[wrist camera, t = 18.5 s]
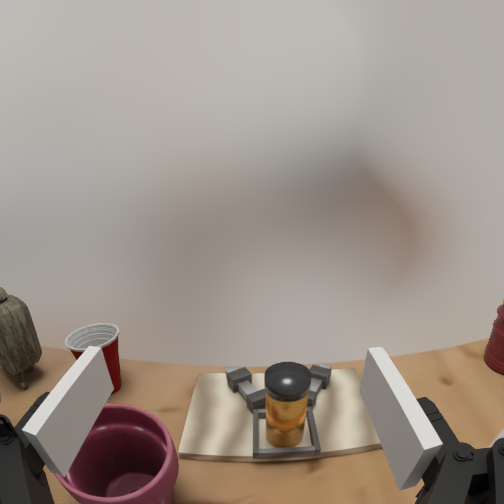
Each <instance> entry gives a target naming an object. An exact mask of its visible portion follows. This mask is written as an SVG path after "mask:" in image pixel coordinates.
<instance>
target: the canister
mask: <svg viewBox="0 0 504 504" xmlns="http://www.w3.org/2000/svg"><path fill="white" fill-rule="evenodd" d="M497 313H498V316H497V319H496V320H495V321H494V323H493V329H492V332H491V335H490V339H489V342H488V344H487V345H486V349H485V354H484V359H485V361H486V363H487V364H488V366H489V367H490V368H492V369H493V370H495V371H496V372H498V373H501V374H504V299H503V305H500V306H499V307H498V309H497Z"/></svg>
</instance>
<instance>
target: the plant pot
mask: <svg viewBox="0 0 504 504" xmlns="http://www.w3.org/2000/svg"><path fill="white" fill-rule="evenodd" d="M178 469H179V464H178V457H177V453H176V450H175V447H174V444H173V441H172V438H171V436H170V433H169V431H168V430H167V428H166V427H165V425H164V424H163V423H162V422H161V421H160V420H159V419H158V418H157V417H156V416H154V415H153V414H151V413H149V412H148V411H146V410H143V409H141V408H138V407H135V406H131V405H125V404H105V405H104V407H103V409H102V410H101V412H100V414H99V416H98V417H97V419H96V421H95V423H94V424H93V426H92V428H91V430H90V432H89V433H88V435H87V437H86V439H85V441H84V442H83V444H82V446H81V448H80V450H79V452H78V453H77V455H76V457H75V459H74V461H73V463H72V465H71V467H70V468H69V470H68V472H67V474H66V476H65V477H62V476H60V475H57V474H55V473H54V474H55V476H56V477H57V479H58V480H59V482H60V483H61V484H62V485H63V486H64V488H65V489H66V490H67V491H68V492H69V493H70V494H71V495H72V496H73V497H74V499H76V500H77V501H78V502H79V503H81V504H172V498H173V486H174V484H175V482H176V479H177V476H178Z"/></svg>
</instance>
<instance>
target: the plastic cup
mask: <svg viewBox="0 0 504 504" xmlns="http://www.w3.org/2000/svg"><path fill="white" fill-rule="evenodd" d="M118 335H119V329H118V327H117V326H115V325H114V324H109V323H96V324H92V325H87V326H84V327H82V328H79V329H77V330H75V331H73V332H72V333H70V334H69V335H68V336H67V337H66V339H65V345H66V346H67V347H68V348H69V349H70V350H71V352H72V353H73V355H74V356H75V358H76V359H77V360H78V358H79V357H80V356H81V355H82V354H83V353H84V351H85V350H86V349H87V348H88V347H89V346H94V347H101V348H102V352H103V355H104V359H105V362H106V365H107V369H108V372H109V375H110V378H111V381H112V384H113V387H114V390H113V391H112V393H111V394H113V393H115V392H117V391H118V390H119V389H120V386H121V378H120V364H119V354H118Z"/></svg>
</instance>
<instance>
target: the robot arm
mask: <svg viewBox="0 0 504 504" xmlns="http://www.w3.org/2000/svg"><path fill="white" fill-rule="evenodd" d="M113 390H114V387H113V384H112V381H111V378H110V375H109V372H108V369H107V365H106V362H105V359H104V355H103V352H102V348H101V347H94V346H89V347H88V348H87V349H86V350H85V351H84V353H83V354H82V355H81V356H80V357H79V358H78V360H77V361H76V362H75V363H74V364H73V366H72V367H71V368H70V369H69V370H68V372H67V373H66V374H65V375H64V376H63V378H62V379H61V380H60V381H59V383H58V384H57V385H56V386H55V388H54V389H53V390H52V391H51V393H50V392H46V393H44V394H43V395H41V396H40V397H38V399H37V400H36V401H35V402H34V404H33V405H32V406H31V407H30V409H29V411H27V412H26V414H25V415H24V416H23V417H22V419H21V420H20V421H19V422H18V424H17V425H16V426H15V428H14V427H13V425H12V424H11V422H10V420H9V419H8V418H7V417H6V416H5V415H2V414H0V504H54V501H53V498H52V495H51V492H50V488H49V485H48V481H47V478H46V474H45V472H44V470H43V467H44V465H46V466H47V467H48V469H49V470H50V471H51V472H52V473H55V474H57V475H60V476H62V477H65V476H66V474H67V472H68V470H69V468H70V467H71V465H72V463H73V461H74V459H75V457H76V455H77V453H78V452H79V450H80V448H81V446H82V444H83V442H84V441H85V439H86V437H87V435H88V433H89V432H90V430H91V428H92V426H93V424H94V423H95V421H96V419H97V417H98V416H99V414H100V412H101V410H102V409H103V407H104V405H105V403H106V402H107V400H108V398H109V396H110V395H111V393H112V391H113ZM359 392H360V395H361V397H362V399H363V402H364V404H365V406H366V409H367V411H368V413H369V416H370V418H371V421H372V423H373V425H374V428H375V430H376V433H377V435H378V438H379V440H380V443H381V445H382V447H383V450H384V452H385V455H386V458H387V460H388V463H389V465H390V468H391V470H392V473H393V475H394V478H395V481H396V483H397V486H398V489H399V491H400V490H403V489H406V488H410V487H413V486H416V485H417V484H418V482H419V481H420V479H421V478H422V479H423V482H424V484H425V485H424V486H423V487H422V489H421V490H420V491H419V493H418V494H417V495H416V497H418V498H417V500H416V502H415V504H504V438H500V439H498V440H497V441H495V443H494V444H493V446H492V447H491V448H483V449H474V448H473V447H472V446H471V445H469V444H467V443H460V442H459V441H458V439H457V438H456V436H455V434H454V433H453V431H452V430H451V428H450V427H449V425H448V424H447V422H446V420H445V419H443V418H444V417H443V416H442V414H441V413H439V410H438V408H437V407H436V405H435V404H434V403H433V402H432V401H430V400H429V399H428V398H426V397H423V398H418V399H416V398H415V397H414V395H413V393H412V392H411V390H410V389H409V387H408V386H407V384H406V382H405V381H404V379H403V378H402V376H401V375H400V373H399V371H398V370H397V368H396V367H395V365H394V364H393V362H392V361H391V359H390V358H389V356H388V355H387V353H386V352H385V350H384V349H383V347H377V348H368V351H367V356H366V362H365V366H364V371H363V376H362V381H361V385H360V389H359ZM0 402H1V396H0Z"/></svg>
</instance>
